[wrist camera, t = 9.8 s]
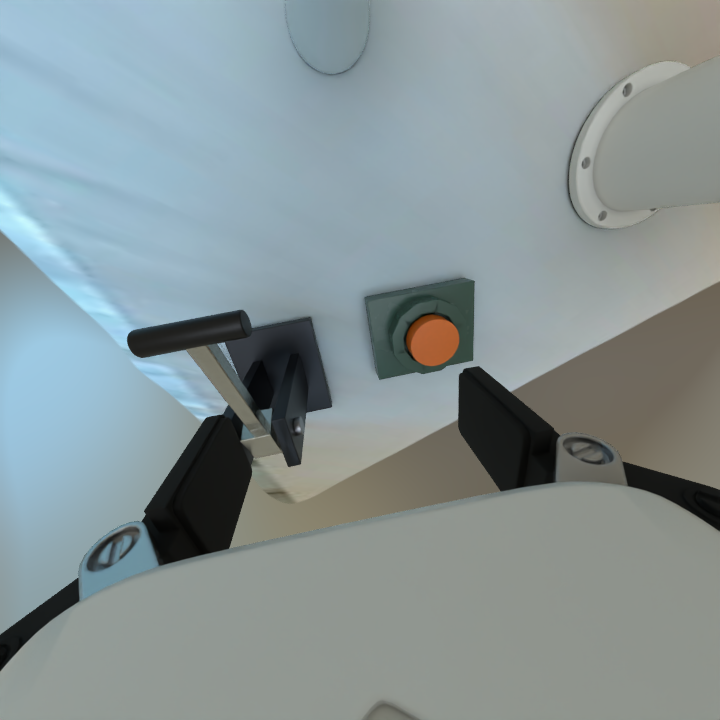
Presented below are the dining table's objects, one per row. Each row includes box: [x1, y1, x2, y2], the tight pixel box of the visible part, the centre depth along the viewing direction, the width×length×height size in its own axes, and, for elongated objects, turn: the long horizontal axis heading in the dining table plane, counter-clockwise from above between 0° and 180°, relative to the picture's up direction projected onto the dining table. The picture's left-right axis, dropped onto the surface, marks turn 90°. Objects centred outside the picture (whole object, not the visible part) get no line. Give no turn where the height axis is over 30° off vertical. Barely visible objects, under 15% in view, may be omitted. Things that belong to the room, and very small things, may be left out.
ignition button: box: [406, 315, 459, 366], centre depth 27 cm, size 5×5×2 cm
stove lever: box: [127, 310, 283, 458], centre depth 17 cm, size 12×6×2 cm, turn 9°
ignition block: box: [364, 278, 475, 380], centre depth 29 cm, size 11×9×4 cm
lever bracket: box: [223, 317, 332, 467], centre depth 25 cm, size 11×9×13 cm
